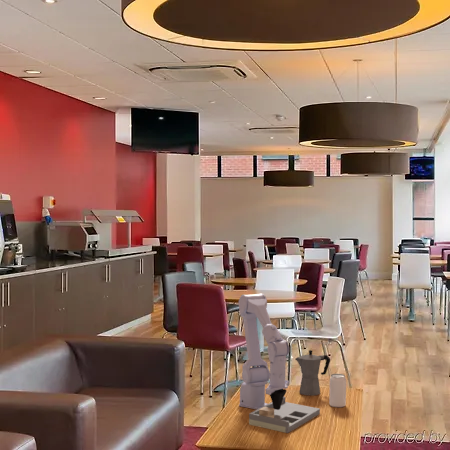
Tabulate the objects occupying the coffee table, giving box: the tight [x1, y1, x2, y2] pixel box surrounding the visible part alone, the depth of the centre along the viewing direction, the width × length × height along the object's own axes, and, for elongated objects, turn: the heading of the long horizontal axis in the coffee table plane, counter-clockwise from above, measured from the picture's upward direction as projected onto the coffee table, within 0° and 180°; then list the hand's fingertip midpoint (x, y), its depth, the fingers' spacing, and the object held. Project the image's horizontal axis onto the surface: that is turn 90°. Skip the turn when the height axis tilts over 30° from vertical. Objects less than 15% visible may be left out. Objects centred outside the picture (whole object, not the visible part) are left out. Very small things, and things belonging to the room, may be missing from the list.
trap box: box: [248, 396, 321, 434], centre depth 276 cm, size 16×26×4 cm, turn 147°
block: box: [259, 407, 274, 418], centre depth 269 cm, size 4×4×4 cm
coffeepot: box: [295, 349, 331, 397], centre depth 310 cm, size 15×9×18 cm, turn 103°
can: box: [328, 373, 347, 408], centre depth 294 cm, size 6×6×12 cm
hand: (276, 408), depth 276 cm, fingers closed
